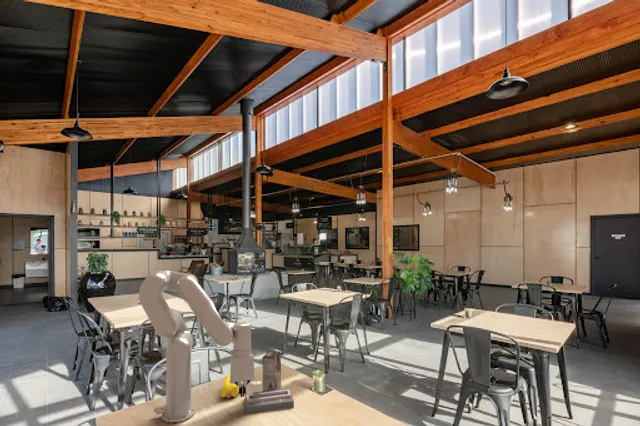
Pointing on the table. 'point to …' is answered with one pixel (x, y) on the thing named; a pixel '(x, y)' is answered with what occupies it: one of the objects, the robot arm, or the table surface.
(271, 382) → the coffee box
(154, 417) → the table surface
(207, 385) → the table surface
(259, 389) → the fader tab
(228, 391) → the yellow rounded capsule
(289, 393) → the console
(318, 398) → the table surface
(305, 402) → the table surface
